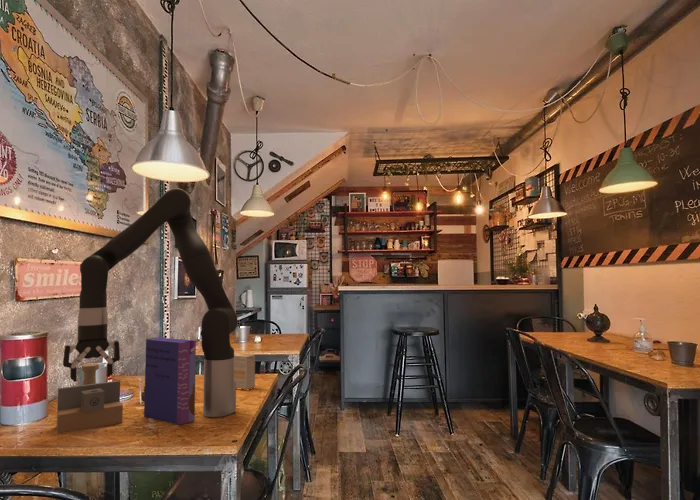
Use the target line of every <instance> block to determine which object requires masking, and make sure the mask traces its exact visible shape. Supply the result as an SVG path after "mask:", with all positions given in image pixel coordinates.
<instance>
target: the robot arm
mask: <svg viewBox="0 0 700 500" xmlns="http://www.w3.org/2000/svg"><path fill="white" fill-rule="evenodd" d="M191 202H192V200H191V196H190V194H189V193H188V192H187V191H186V190H185V189H182V188H179V187H173V188H170V189H168V190H167V191H165V192H164V193H163V194H162V195H161V196H160V197H159V198H158V200H157V201H156V202H154V204H153V205H151V207H149V209H148V210H146V212H144V213H143V214H142V215H141V216H140V217H138V218H137V219H136V220H135V221H133V222H132V223H131V224H130V225H128V226H127V227H126V228H125V229H123V230H122V231H120V232H119V233H118V234H117V235H115V236H113V237H112V238H111V239H110V240H109V241H107V243H105V245H103V246H102V247H101V248H99V249H98V250H96V251H95V252H94V253H92V254H91V255H89V256H88V257H86V258H85V259H84V260H83V261H82V262H81V263H80V266H79V272H80V283H81V285H80V286H81V287H80V288H81V290H80V293H79V306H78V307H79V309H78V316H77V342H76V344H75V345H70V344H66V345H64V348H63V349H64V351H63V357H62V358H63V359H62V360H63V361H62V366H63V367H64V368H69V369H70V370H69V371H70V373H69V374H70V376H69V377H70V379H71V380H72V381H73V382H77V374H78V373H77V372H78V368H77V366H78V365H79V364H80V362H82V360H83V359H85V360H88V359H91V358H95V359H97V358H99V357H102V358H103V359H104V361H106V362H107V363H106V377H107V378H111V375H113V373H114V370H113V369H114V368H113V367H114V363H115V362H119V361H120V359H121V356H120V353H121V352H120V341H118V340H114V341H108V323H109V322H108V321H109V318H108V317H109V316H108V308H107V307H108V306H107V305H108V303H107V302H108V296H107V295H108V293H107V288H108V286H107V285H108V281H109V280H108V279H109V272H110V271H111V270H112V268H114V267H116V265H118V264H119V263H120V262H122V261H123V260H125V259H126V258H128V257H129V256H130V255H132V254H133V253H134V252H136V251H137V250H138V249H140V247H142V245H144V244H145V243H146V241H148V239H150V238H151V236H152V235H153V234H154V233H155V232H156V231H157V230H158V229H160V227H161V226H162V225H163V224H165V223H167V224H168V226H169V229H170V230H171V232H172V234H173V237H174V241H175V245H176V247H177V251H178V254H179V257H180V260H181V263H182V266H183V268H184V271H185V273H186V275H187V278H188V279H189V281H190V282H191V283H192V285H193V286H194V287H195V289H196V290H197V291H198V292H199V294H201V296H202V297H203V300H204V302H205V304H206V306H207V309H208V310H207V311H206V312H205V313H204V314H203V317H202V318H201V319H202V320H201V326H200V328H201V329H200V331H201V334H200V336H201V350H202V352H203V397H202V399H203V402H202V403H203V404H202V410H203V411H202V412H203V413H202V414H203V415H202V416H205V417H207V418H221V417H225V416H229V415H231V414H234V412H235V413H236V411H237V389H236V382H235V381H234V355H235V349H234V348H233V347H232V345H231V337H230V335H231V334H232V333H234V332H235V331H236V329H237V326H238V322H239V320H238V319H239V318H238V316H237V315H238V314H237V313H236V311H235V309H234V307H233V305H232V303H231V302H230V299H229V298H228V296H227V293H226V292H225V289H224V287H223V284H222V280H221V278H220V275H219V273H218V271H217V268H216V266H215V262H214V260H213V256H212V255H211V252H210V250H209V248H208V247H207V245H206V244H205V242H204V240H203V239H202V237H201V236H200V235H199V233H198V231H197V230H196V227H195V224H194V221H193V218H192V213H191V205H192V204H191ZM108 347H110V348H111V349H113V357H110V356H109V355H108V353H107V352H106V351H107V349H109V348H108ZM74 350H76V352H78V355H77V356H76V357H75V358H74V359H73V361H72V362H69V361H70V354H71V353H73V352H74Z"/></svg>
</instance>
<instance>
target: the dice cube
mask: <svg viewBox="0 0 700 500" xmlns="http://www.w3.org/2000/svg"><path fill="white" fill-rule="evenodd" d="M104 392H105V391H103V390H102V389H101V388H99V389H93V390H86V391H81V404H80V409H81V410H82V411H83V412H90V411H95V410H101V409H104Z"/></svg>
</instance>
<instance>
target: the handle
mask: <svg viewBox="0 0 700 500" xmlns="http://www.w3.org/2000/svg"><path fill="white" fill-rule="evenodd" d="M80 367H81V368H80V369H81V371H82V372H83V383H82V385H88V384H96V383H97V376H96V375H97V370H99V367H100V363H98V362H88V363H84V364H81V366H80Z"/></svg>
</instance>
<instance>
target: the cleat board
mask: <svg viewBox="0 0 700 500" xmlns="http://www.w3.org/2000/svg"><path fill="white" fill-rule="evenodd" d="M99 388H101V389H102V390H103V391H105V392H104V409H101V410H95V411H90V412H83V411H82V410H81V409H80V404H81V391H86V390H93V389H99ZM120 398H121V380H112V381H107V382H106V381H105V382H96V384H88V385H83V384H82V385H73V386H67V387H58V389H57V408H56V432H57V434H58V435H60V434H64V433H71V432H77V431H81V430H87V429H93V428H98V427H103V426H109V425H115V424H120V423H123V415H124V414H123V410H124V405H123V404H122V402H121V401H120V400H121V399H120ZM59 433H60V434H59Z"/></svg>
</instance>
